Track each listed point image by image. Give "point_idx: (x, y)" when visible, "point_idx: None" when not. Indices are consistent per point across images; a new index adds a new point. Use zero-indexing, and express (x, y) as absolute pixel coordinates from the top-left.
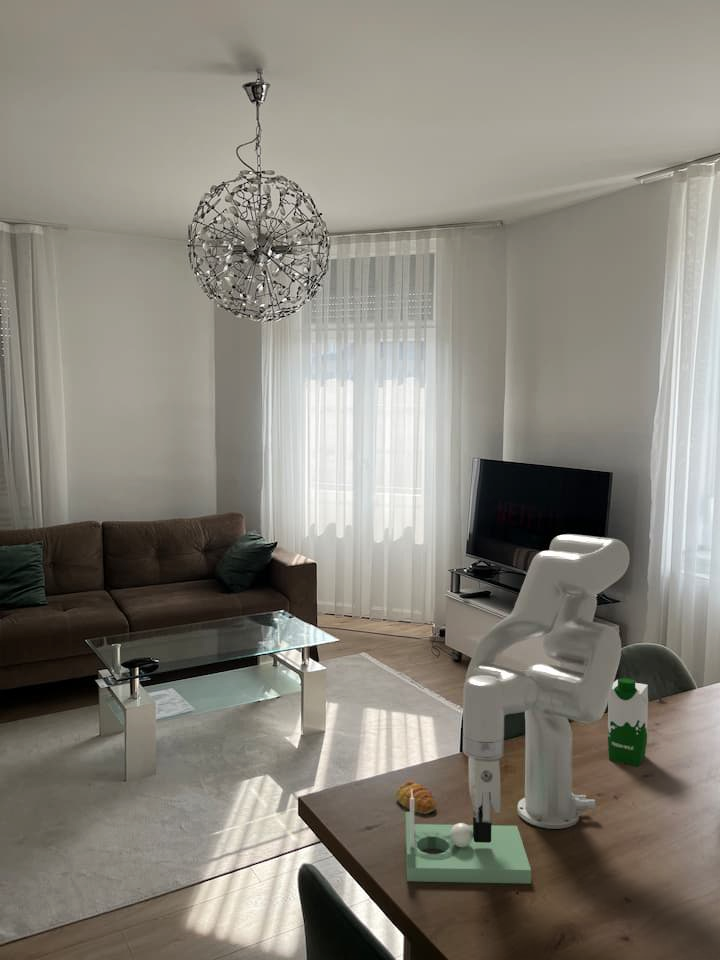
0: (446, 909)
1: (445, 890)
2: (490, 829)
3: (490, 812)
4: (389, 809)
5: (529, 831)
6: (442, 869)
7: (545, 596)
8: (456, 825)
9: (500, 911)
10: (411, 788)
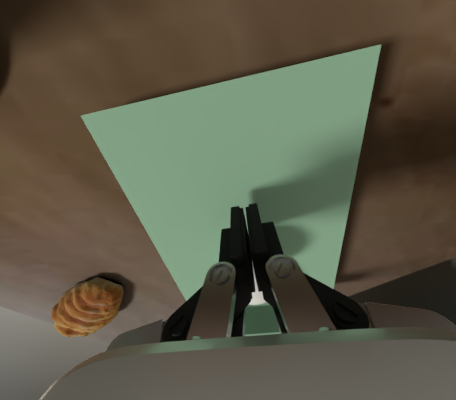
0: (406, 237)
1: (349, 242)
2: (262, 229)
3: (328, 319)
4: (136, 316)
5: (42, 67)
6: (336, 268)
7: None
8: (257, 304)
9: (452, 143)
10: (82, 329)
